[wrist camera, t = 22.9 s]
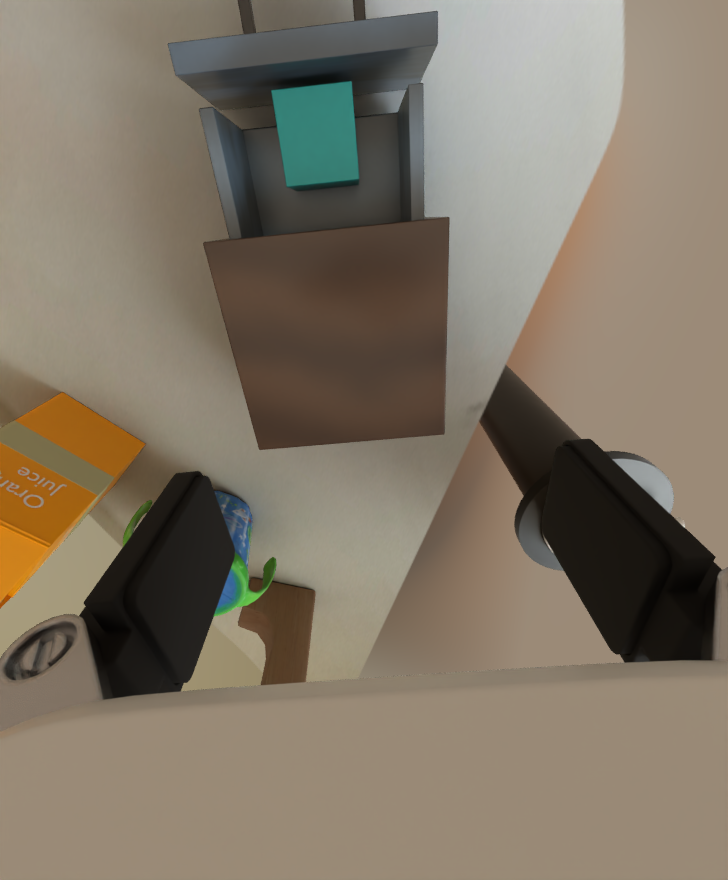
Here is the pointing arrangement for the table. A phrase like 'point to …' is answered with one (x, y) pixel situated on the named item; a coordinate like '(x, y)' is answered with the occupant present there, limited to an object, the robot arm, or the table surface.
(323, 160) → the teal matte cube
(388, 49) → the drawer
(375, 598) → the table surface
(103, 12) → the table surface
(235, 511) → the snack cup
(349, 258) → the cabinet
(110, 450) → the orange juice
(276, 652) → the wooden block
